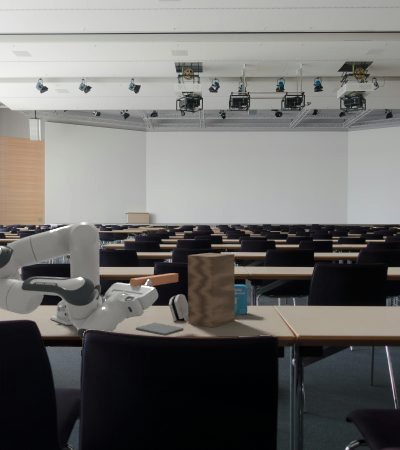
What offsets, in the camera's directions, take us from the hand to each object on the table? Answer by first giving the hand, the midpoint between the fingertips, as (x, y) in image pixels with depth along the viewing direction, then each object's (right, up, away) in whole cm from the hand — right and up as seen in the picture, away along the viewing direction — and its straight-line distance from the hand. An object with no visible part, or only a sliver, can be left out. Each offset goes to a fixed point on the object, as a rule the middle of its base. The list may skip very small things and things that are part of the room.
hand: (145, 280), depth 163 cm
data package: (+33, -18, +32) cm, 49 cm away
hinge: (+12, -18, +27) cm, 34 cm away
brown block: (+24, -18, +16) cm, 34 cm away
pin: (+3, -2, +4) cm, 6 cm away
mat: (+5, -18, +5) cm, 20 cm away
